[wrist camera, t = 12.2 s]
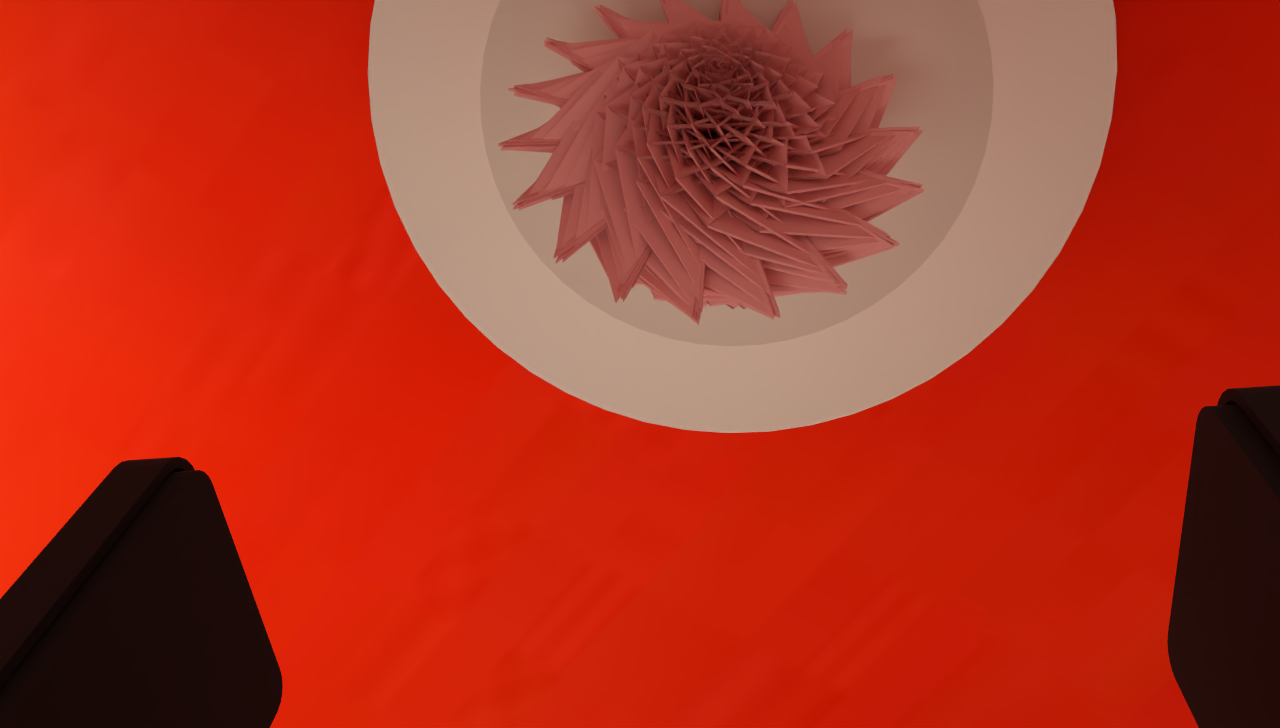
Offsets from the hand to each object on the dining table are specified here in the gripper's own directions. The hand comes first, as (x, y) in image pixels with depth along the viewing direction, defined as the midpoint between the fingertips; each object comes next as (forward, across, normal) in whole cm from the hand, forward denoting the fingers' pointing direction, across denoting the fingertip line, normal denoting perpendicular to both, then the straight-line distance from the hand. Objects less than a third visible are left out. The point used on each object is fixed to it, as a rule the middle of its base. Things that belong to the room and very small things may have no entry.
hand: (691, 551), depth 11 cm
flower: (+15, 0, 0) cm, 15 cm away
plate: (+16, 0, 0) cm, 17 cm away
